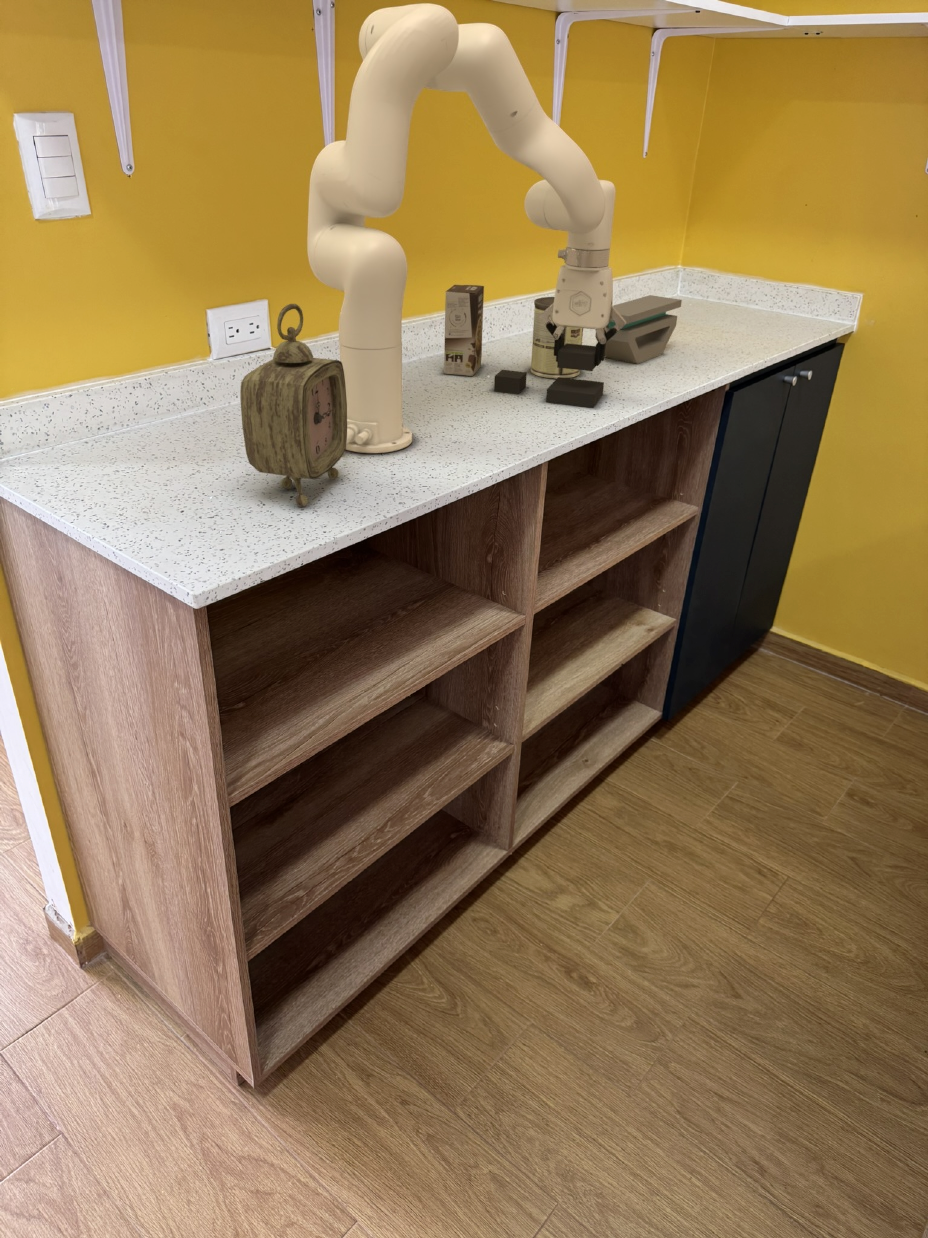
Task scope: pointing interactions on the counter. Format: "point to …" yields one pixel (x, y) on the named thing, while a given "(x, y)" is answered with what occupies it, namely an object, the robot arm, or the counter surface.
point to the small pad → (510, 381)
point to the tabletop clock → (295, 412)
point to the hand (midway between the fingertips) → (578, 361)
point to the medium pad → (577, 357)
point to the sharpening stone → (642, 329)
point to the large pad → (575, 392)
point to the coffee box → (463, 329)
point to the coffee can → (550, 344)
